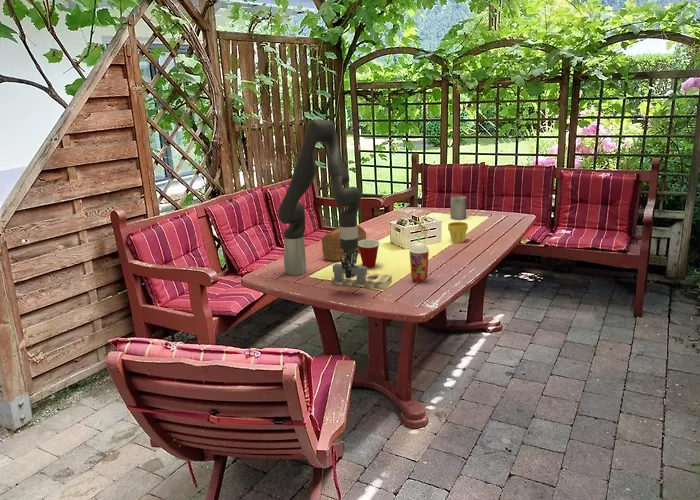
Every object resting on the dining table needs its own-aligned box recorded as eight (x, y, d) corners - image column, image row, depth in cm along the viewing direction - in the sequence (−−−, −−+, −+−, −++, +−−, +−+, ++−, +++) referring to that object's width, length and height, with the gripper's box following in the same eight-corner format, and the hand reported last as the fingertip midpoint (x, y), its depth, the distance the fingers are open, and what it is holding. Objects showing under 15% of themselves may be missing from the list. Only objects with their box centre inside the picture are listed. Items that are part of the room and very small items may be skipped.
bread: (318, 260, 284) (317, 232, 280) (351, 246, 305) (350, 220, 301) (338, 263, 277) (336, 235, 273) (370, 249, 298) (369, 223, 295)
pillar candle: (457, 215, 366) (457, 192, 362) (469, 218, 358) (469, 194, 354) (447, 218, 360) (447, 195, 356) (459, 220, 353) (459, 197, 348)
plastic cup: (361, 271, 263) (360, 246, 260) (355, 264, 273) (354, 240, 270) (383, 268, 266) (383, 243, 263) (376, 262, 276) (375, 238, 273)
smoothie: (427, 276, 252) (427, 232, 246) (430, 282, 244) (430, 237, 238) (408, 277, 252) (407, 233, 246) (411, 283, 244) (410, 238, 238)
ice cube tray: (332, 284, 247) (331, 277, 247) (341, 277, 256) (340, 270, 256) (384, 289, 239) (384, 282, 238) (391, 281, 247) (391, 275, 247)
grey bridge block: (333, 281, 237) (332, 265, 235) (336, 279, 240) (335, 263, 238) (364, 285, 232) (364, 268, 230) (367, 282, 234) (366, 266, 232)
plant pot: (444, 241, 307) (444, 224, 304) (456, 238, 313) (456, 220, 311) (459, 245, 299) (459, 227, 297) (471, 241, 306) (471, 223, 303)
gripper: (346, 231, 238) (348, 270, 243) (333, 240, 225) (334, 281, 230) (363, 232, 235) (364, 272, 240) (350, 241, 223) (352, 283, 227)
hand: (349, 276), depth 235 cm, fingers closed on grey bridge block, 3 cm apart
